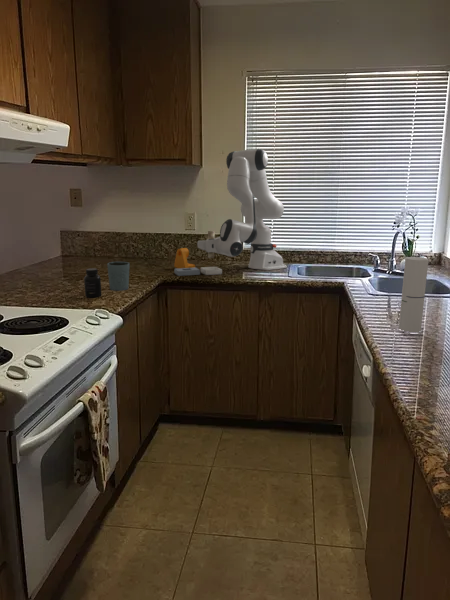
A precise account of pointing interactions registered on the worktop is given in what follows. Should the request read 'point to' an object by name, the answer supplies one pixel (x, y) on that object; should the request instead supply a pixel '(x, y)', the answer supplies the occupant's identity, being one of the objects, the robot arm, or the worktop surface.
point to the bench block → (186, 271)
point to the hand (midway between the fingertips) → (210, 242)
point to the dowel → (211, 236)
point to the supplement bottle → (92, 283)
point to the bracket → (182, 259)
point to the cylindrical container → (413, 294)
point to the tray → (211, 270)
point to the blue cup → (118, 275)
